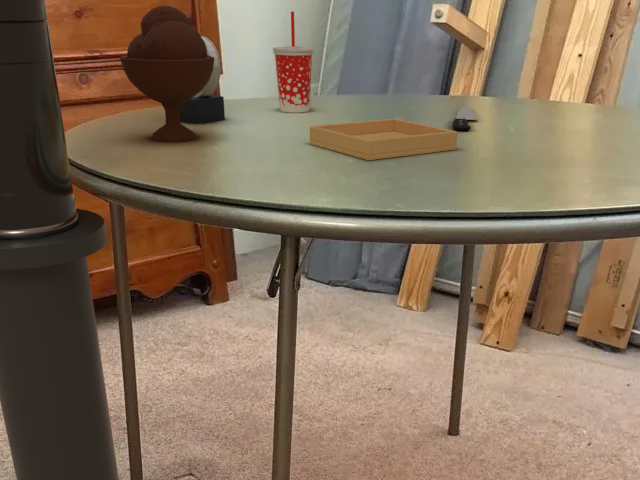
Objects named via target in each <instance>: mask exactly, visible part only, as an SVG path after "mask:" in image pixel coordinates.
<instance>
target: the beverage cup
mask: <svg viewBox="0 0 640 480" xmlns="http://www.w3.org/2000/svg"><path fill="white" fill-rule="evenodd" d="M290 29H291V31H290V32H291V33H290V34H291V45H286V46H276V47H272V51H273V52H272V54H274V58H275V59H274V61H275V69H276V83H277V93H278V104H279V111H280V112H283V113H308V112H310V109H311V89H312V87H311V85H312V65H313V64H312V63H313V55H314V50H315V49H314V48H313V47H308V46H307V47H305V46H299V45H296V42H295V41H296V39H295V38H296V37H295V35H296V33H295V11H290Z"/></svg>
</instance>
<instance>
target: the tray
mask: <svg viewBox="0 0 640 480" xmlns="http://www.w3.org/2000/svg"><path fill="white" fill-rule="evenodd" d="M309 144H310V145H313V146H316V147H320V148H323V149H327V150H331V151H334V152H338V153H340V154H345V155H348V156H352V157H354V158H359V159H362V160H366V161H374V160H383V159H391V158H399V157H406V156H415V155H423V154H431V153H438V152H446V151H448V152H449V151H456V150H457V145H458V131H457V130H452V129H447V128H446V129H445V128H442V127H437V126H433V125H427V124H422V123H419V122H414V121H409V120H404V119H399V118H385V119H374V120H373V119H372V120H364V121H363V120H362V121H351V122H343V123H341V122H340V123H329V124H320V125H319V124H318V125H310V126H309Z"/></svg>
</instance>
